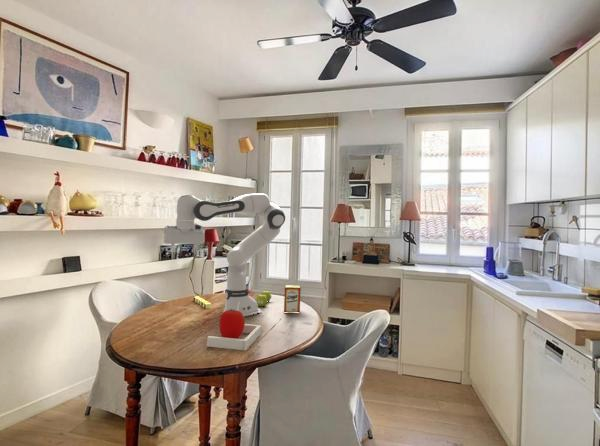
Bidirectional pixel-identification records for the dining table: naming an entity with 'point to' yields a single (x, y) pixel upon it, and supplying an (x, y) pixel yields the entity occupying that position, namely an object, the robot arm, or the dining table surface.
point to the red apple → (231, 324)
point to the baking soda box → (292, 298)
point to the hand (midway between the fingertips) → (184, 252)
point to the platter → (202, 302)
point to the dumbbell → (263, 298)
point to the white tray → (236, 343)
